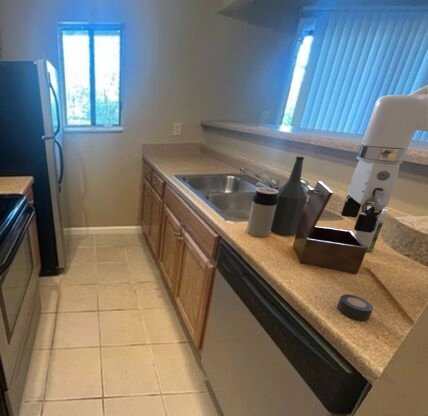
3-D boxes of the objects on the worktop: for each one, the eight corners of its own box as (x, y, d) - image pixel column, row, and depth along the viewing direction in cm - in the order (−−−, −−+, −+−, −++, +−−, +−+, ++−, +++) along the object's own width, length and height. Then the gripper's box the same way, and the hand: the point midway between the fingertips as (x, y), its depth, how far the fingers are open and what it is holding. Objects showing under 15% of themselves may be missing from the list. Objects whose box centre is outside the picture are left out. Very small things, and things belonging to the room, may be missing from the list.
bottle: (282, 224, 116) (300, 153, 105) (303, 235, 107) (324, 158, 96) (261, 227, 114) (277, 155, 103) (280, 237, 105) (300, 159, 94)
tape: (363, 307, 69) (367, 298, 68) (373, 324, 64) (378, 314, 63) (333, 301, 71) (337, 291, 70) (341, 316, 66) (345, 306, 65)
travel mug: (268, 239, 103) (279, 194, 97) (245, 234, 107) (254, 191, 101) (269, 231, 110) (279, 188, 103) (247, 227, 114) (255, 185, 107)
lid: (321, 181, 89) (304, 177, 90) (333, 192, 78) (313, 188, 80) (300, 223, 95) (284, 218, 97) (308, 238, 85) (291, 233, 86)
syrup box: (350, 246, 98) (363, 209, 92) (352, 241, 101) (365, 204, 96) (371, 252, 94) (387, 213, 88) (373, 247, 97) (388, 209, 92)
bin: (343, 254, 93) (351, 230, 90) (357, 274, 82) (367, 248, 79) (292, 246, 99) (298, 223, 96) (299, 263, 88) (306, 239, 85)
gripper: (425, 162, 53) (391, 241, 59) (385, 149, 67) (361, 213, 74) (374, 159, 56) (347, 234, 62) (346, 147, 70) (327, 209, 77)
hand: (355, 223), depth 68 cm, fingers open, 9 cm apart
